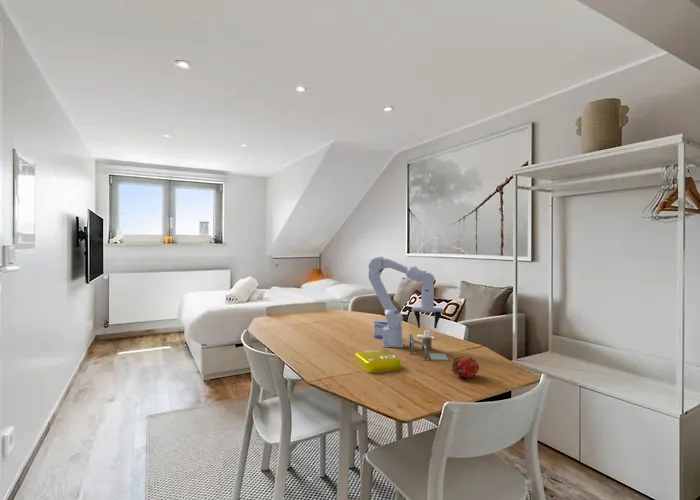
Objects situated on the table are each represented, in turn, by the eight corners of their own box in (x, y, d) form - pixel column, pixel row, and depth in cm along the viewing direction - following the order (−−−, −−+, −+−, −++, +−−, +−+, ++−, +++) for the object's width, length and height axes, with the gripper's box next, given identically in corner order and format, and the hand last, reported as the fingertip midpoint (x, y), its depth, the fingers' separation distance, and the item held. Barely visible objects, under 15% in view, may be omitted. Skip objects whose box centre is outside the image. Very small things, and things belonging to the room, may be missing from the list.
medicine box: (373, 337, 195) (374, 321, 195) (375, 335, 200) (375, 319, 200) (388, 339, 193) (388, 322, 193) (390, 337, 197) (390, 320, 197)
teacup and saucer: (415, 338, 196) (415, 331, 196) (420, 335, 203) (420, 328, 203) (432, 341, 192) (432, 333, 191) (436, 337, 199) (436, 330, 199)
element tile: (385, 358, 160) (386, 347, 160) (402, 370, 146) (403, 357, 146) (353, 362, 155) (353, 350, 155) (367, 374, 141) (368, 361, 141)
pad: (431, 359, 159) (431, 358, 159) (429, 354, 167) (429, 353, 167) (448, 360, 158) (448, 359, 158) (445, 354, 166) (445, 353, 166)
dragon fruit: (449, 382, 137) (475, 383, 141) (462, 374, 131) (489, 376, 135) (443, 359, 142) (469, 361, 146) (456, 351, 136) (482, 353, 140)
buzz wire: (411, 359, 158) (411, 344, 158) (407, 346, 179) (408, 333, 179) (428, 360, 158) (429, 345, 158) (423, 347, 178) (423, 333, 178)
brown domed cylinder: (421, 350, 173) (422, 339, 173) (420, 347, 178) (420, 336, 178) (432, 350, 173) (432, 339, 173) (431, 347, 178) (431, 337, 178)
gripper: (412, 299, 172) (412, 329, 172) (444, 300, 171) (444, 329, 171) (411, 297, 179) (411, 325, 179) (442, 298, 178) (441, 326, 178)
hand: (427, 327), depth 176 cm, fingers open, 7 cm apart
